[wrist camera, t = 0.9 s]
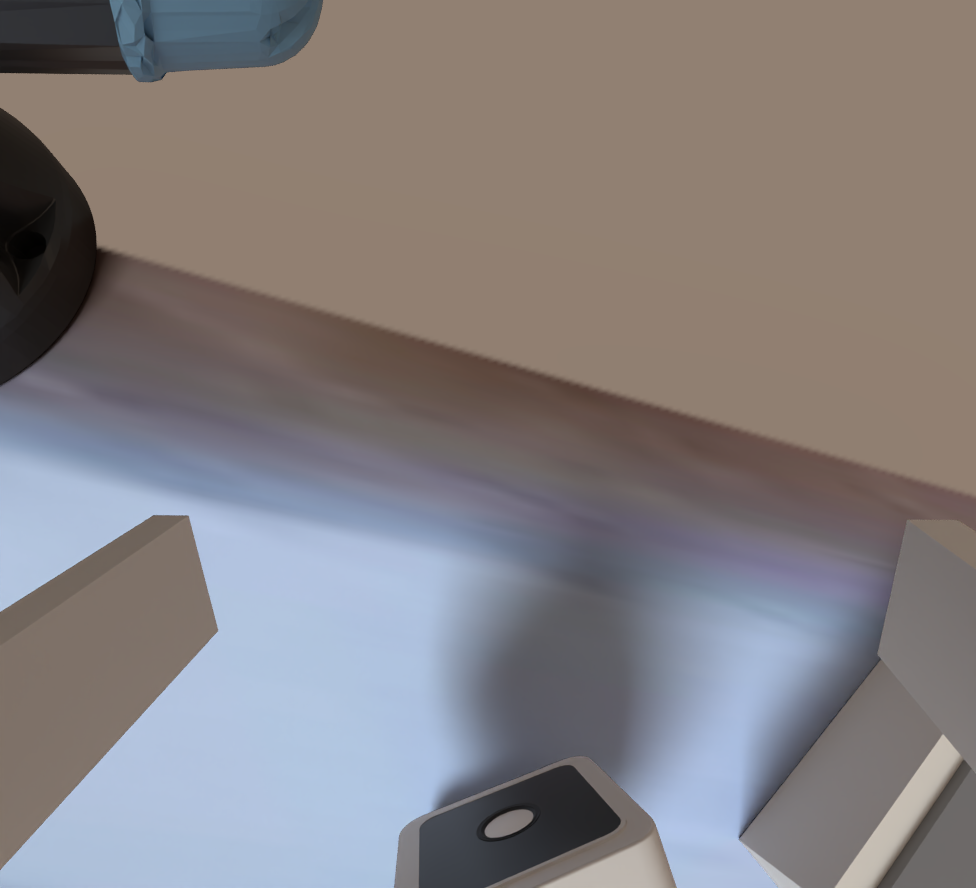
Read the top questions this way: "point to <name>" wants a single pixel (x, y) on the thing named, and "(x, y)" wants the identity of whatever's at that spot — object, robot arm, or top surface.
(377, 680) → the top surface
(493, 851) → the security camera
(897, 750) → the cream gray-topped block
